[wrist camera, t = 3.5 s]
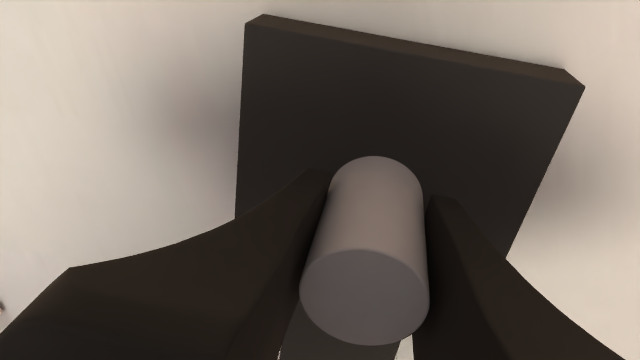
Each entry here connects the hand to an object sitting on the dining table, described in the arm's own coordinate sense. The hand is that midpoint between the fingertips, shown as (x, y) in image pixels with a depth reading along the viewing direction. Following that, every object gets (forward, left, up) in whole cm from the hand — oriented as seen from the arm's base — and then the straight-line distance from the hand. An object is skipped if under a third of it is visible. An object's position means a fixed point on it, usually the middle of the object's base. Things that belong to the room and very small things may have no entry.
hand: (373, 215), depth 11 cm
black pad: (0, -3, -2) cm, 3 cm away
